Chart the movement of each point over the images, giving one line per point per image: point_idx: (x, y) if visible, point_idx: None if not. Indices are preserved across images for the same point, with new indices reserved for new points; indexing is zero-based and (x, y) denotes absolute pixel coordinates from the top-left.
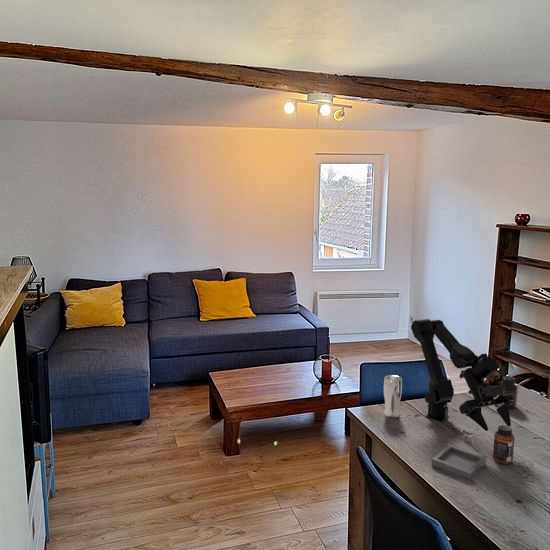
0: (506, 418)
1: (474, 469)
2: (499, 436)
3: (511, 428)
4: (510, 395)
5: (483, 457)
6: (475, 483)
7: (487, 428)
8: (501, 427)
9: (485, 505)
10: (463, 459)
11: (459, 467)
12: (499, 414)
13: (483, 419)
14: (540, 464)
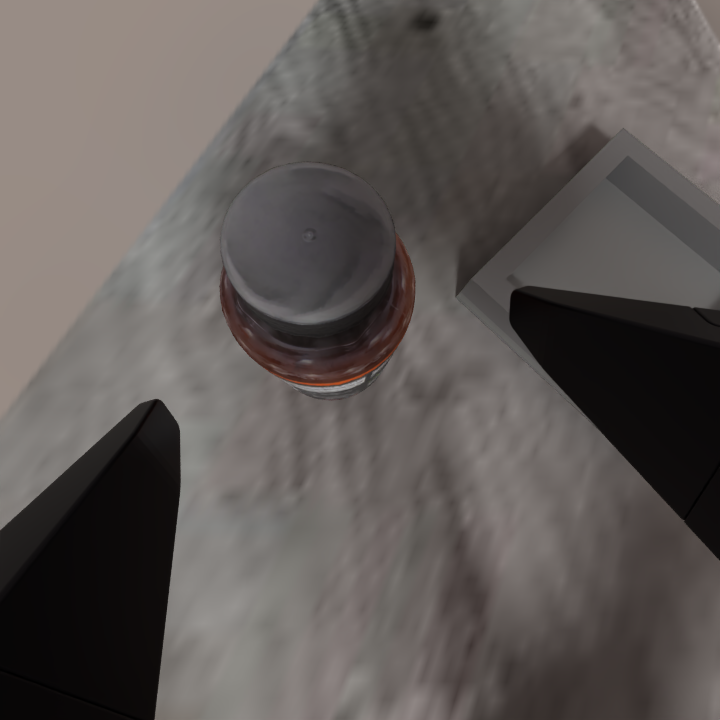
0: (126, 493)
1: (588, 162)
2: (396, 237)
3: (227, 213)
4: None
5: (487, 284)
6: (569, 144)
7: (531, 290)
8: (358, 242)
9: (576, 7)
10: None
11: (669, 185)
12: (155, 708)
13: (662, 319)
14: (129, 291)
